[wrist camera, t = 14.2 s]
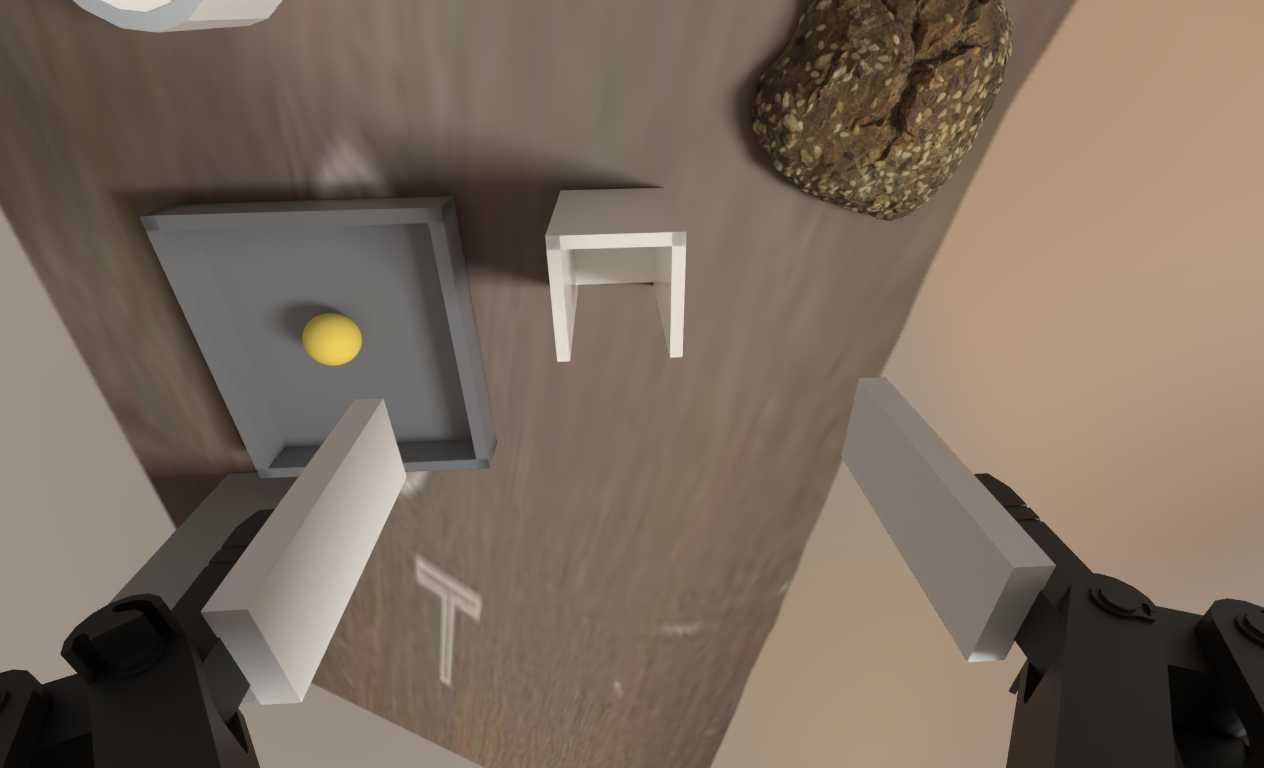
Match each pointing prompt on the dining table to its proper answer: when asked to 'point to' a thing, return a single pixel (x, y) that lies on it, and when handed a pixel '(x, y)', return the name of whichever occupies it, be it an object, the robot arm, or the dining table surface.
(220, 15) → the shot glass
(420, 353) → the tray
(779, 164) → the bread roll
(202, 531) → the perfume bottle
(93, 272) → the dining table surface
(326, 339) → the ball
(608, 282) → the white u-shaped stool
